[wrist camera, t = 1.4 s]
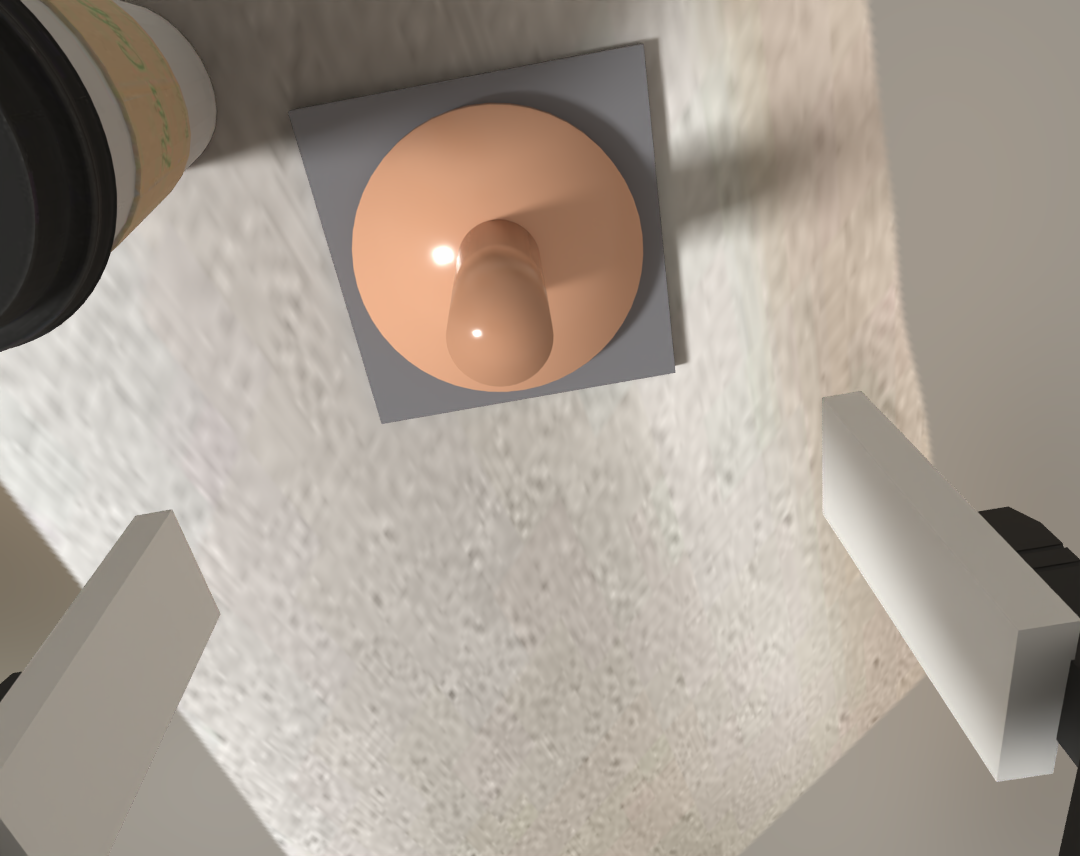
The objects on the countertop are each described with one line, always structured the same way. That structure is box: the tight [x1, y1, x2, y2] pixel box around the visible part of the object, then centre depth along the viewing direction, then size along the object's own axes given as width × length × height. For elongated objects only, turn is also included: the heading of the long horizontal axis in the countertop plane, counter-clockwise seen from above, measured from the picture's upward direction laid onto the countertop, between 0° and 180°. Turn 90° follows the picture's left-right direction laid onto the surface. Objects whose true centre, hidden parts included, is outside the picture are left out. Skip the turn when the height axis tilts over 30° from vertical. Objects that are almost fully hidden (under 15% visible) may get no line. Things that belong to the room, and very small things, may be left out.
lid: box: [352, 103, 643, 392], centre depth 28 cm, size 11×11×9 cm
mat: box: [288, 44, 675, 424], centre depth 32 cm, size 13×13×1 cm
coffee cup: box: [0, 0, 217, 352], centre depth 22 cm, size 9×9×15 cm
